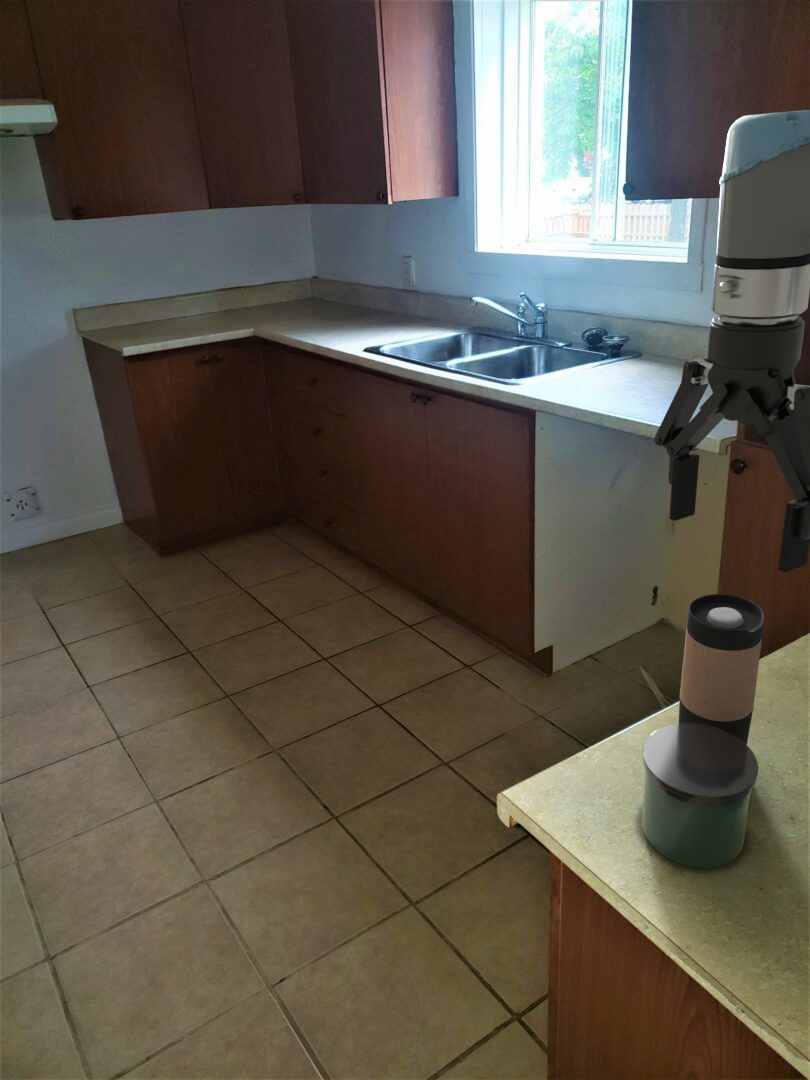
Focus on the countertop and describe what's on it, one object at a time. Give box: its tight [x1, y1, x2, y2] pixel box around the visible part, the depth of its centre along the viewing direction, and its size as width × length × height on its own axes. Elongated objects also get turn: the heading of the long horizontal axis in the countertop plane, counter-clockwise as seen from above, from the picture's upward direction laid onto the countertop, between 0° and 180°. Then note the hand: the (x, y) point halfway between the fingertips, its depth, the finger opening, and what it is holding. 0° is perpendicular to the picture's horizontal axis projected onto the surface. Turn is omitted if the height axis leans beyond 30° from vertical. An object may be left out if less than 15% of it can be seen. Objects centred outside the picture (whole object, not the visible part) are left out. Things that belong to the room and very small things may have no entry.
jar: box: [641, 723, 759, 869], centre depth 83 cm, size 11×11×10 cm
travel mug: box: [677, 593, 765, 746], centre depth 89 cm, size 8×8×20 cm
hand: (733, 540), depth 78 cm, fingers open, 13 cm apart
